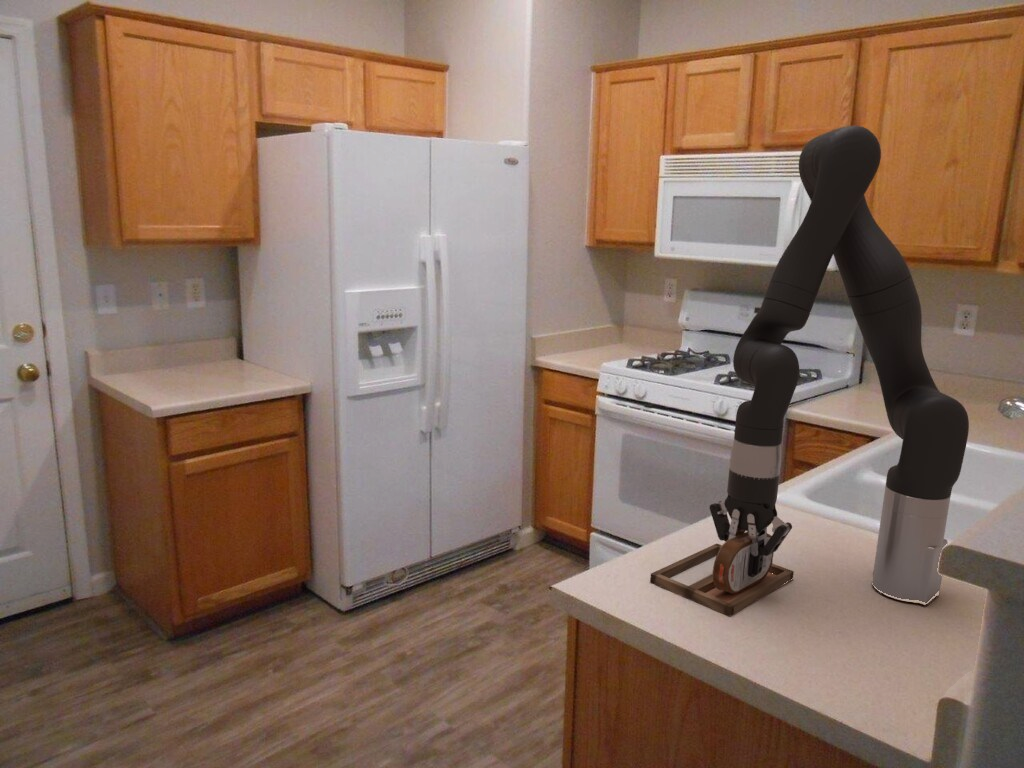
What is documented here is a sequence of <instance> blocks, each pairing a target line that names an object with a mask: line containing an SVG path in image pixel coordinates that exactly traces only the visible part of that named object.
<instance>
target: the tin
mask: <svg viewBox="0 0 1024 768" xmlns="http://www.w3.org/2000/svg"><path fill="white" fill-rule="evenodd" d="M771 536H772V534H769V533H768V532H767V537H766V543H767V542H768V541H769V539H770V538H771ZM721 545H722V547H721V548H720V550H719V552H718V554H717V555H716V556H715V558H714V563H713V568H712V574H713V582H714V585H715V587H716V588H717V589H719V590H723V591H726V592H728V593H731V594H736V593H739V592H741V591H743V590H745V589H746V588H748V587H750V586H752V585H754V584H756V583H758V582H760V581H761V580H763V579H764V578H765V577H766V575H767V574H768V572H769V570H770V568H771V566H772V564H773V561H774V553H775V552H774V553H772V554H770V555H768V556H764V557H763V566H762V571H761V573H759V574H758V575H756V576H754V577H750V576H748V568H749V558H750V554H751V541H749V532H748V531H745V533H743V534H741V535H738V536H736V537H734V538H731V539H729V540H727V541H726V542H725V541H724V543H723V544H721Z"/></svg>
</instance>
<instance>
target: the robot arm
mask: <svg viewBox="0 0 1024 768" xmlns="http://www.w3.org/2000/svg"><path fill="white" fill-rule="evenodd" d="M881 158H882V150H881V144H880V142H879V140H878V138H877V137H876V134H874V133H873V132H872V131H871V130H869V129H868V128H867V127H864V126H861V125H860V126H859V125H846V126H841V127H838V128H835V129H833V130H831V131H828V132H824V133H821V134H819V135H818V136H816V137H814V138H812V139H811V140H809V141H808V142H807V143H806V144H805V145H804V147H803V148H802V150H801V153H800V154H799V159H798V173H799V177H800V180H801V183H802V185H803V188H804V190H805V192H806V194H807V196H808V198H809V200H810V204H809V206H808V209H807V212H806V213H805V216H804V218H803V219H802V222H801V224H800V226H799V227H798V229H797V231H796V233H795V234H794V235H793V237H792V239H791V240H790V242H789V244H788V245H787V246H786V248H785V249H784V252H783V253H782V255H781V257H780V258H779V260H778V261H777V264H776V266H775V268H774V271H773V273H772V275H771V278H770V281H769V283H768V286H767V289H766V292H765V294H764V297H763V300H762V302H761V306H760V308H759V310H758V312H757V313H756V314H755V315H754V317H753V318H752V319H751V321H750V323H749V325H748V326H747V328H746V329H745V331H744V332H743V334H742V336H741V337H740V338H739V341H738V342H737V344H736V347H735V349H734V354H733V358H732V359H733V360H732V363H733V365H732V366H733V370H734V373H735V375H736V376H737V378H739V379H740V380H741V381H743V382H745V383H747V384H750V385H753V386H754V390H753V393H752V396H751V400H745V401H743V402H741V403H740V404H739V405H738V407H737V410H736V415H735V423H734V424H735V427H734V436H733V441H732V447H731V450H730V458H729V469H728V479H727V487H726V488H727V490H726V493H727V496H726V498H725V500H724V501H721V500H719V501H716V502H714V503H712V504H709V511H710V514H711V518H712V521H713V524H714V528H715V530H716V534H717V537H718V540H720V541H721V542H722V541H723V542H724V543H725V542H726V541H727V540H729V539H731V538H734V537H736V536H738V535H741V534H743V533H745V532H749V541H751V554H750V558H749V568H748V576H750V577H754V576H756V575H758V574H759V573H761V571H762V566H763V557H764V556H768V555H770V554H772V553H775V552H777V550H779V549H778V548H779V547H780V546H781V545H782V543H783V541H784V540H785V539H786V537H787V536H788V535H789V533H790V532H791V530H792V529H793V525H792V523H791V522H785V521H783V519H781V518H779V517H778V511H777V508H776V503H777V499H778V493H779V483H780V473H781V465H782V440H783V431H784V429H783V428H784V419H785V415H786V413H787V412H788V409H789V408H790V407H789V406H790V404H791V402H792V398H793V396H794V395H795V394H794V393H795V391H796V388H797V385H798V383H799V378H800V363H799V359H798V356H797V354H796V352H795V351H794V350H793V349H792V347H791V348H790V347H789V346H788V345H784V344H782V343H783V341H785V338H786V337H787V336H788V334H790V333H791V332H795V331H800V330H802V329H803V328H804V327H805V326H806V324H807V322H808V320H809V318H810V315H811V312H812V310H813V307H814V304H815V302H816V298H817V296H818V293H819V290H820V288H821V285H822V283H823V280H824V278H825V275H826V272H827V269H828V267H829V265H830V262H831V261H832V259H833V257H834V261H835V262H836V265H837V268H838V272H839V274H840V277H841V281H842V283H843V287H844V290H845V293H846V296H847V299H848V301H849V304H850V308H851V310H852V312H853V316H854V319H855V321H856V324H857V326H858V328H859V330H860V333H861V336H862V338H863V341H864V343H865V346H866V348H867V351H868V353H869V355H870V357H871V360H872V362H873V364H874V367H875V370H876V373H877V376H878V381H879V385H880V389H881V393H882V398H883V402H884V403H883V404H884V408H885V412H886V416H887V420H888V423H889V425H890V428H891V429H892V430H893V432H894V433H895V434H896V436H898V437H899V438H900V439H901V440H902V444H901V449H900V455H899V459H898V462H897V464H896V465H893V466H890V467H889V468H888V470H887V474H886V478H885V486H884V493H883V501H882V506H881V507H882V508H881V513H880V514H881V515H880V520H879V527H878V528H879V529H878V535H877V537H878V538H877V543H876V551H875V556H874V557H875V558H874V564H873V570H872V580H871V584H872V583H873V585H874V586H875V587H876V588H877V589H878V590H880V591H882V592H883V593H886V594H888V595H891V596H894V597H897V598H901V599H909V600H919V601H922V602H925V603H927V602H928V601H929V600H930V599H931V598H932V597H933V596H935V594H936V593H937V592H938V591H939V590H940V591H941V585H942V580H943V575H942V576H941V575H939V574H938V572H937V568H938V562H939V557H940V553H941V550H942V548H943V547H944V546H945V545H946V544H947V545H948V539H945V533H946V528H947V519H948V514H949V508H950V502H951V495H952V491H953V490H952V489H953V487H954V486H955V484H956V483H957V481H958V480H959V478H960V474H961V472H962V471H961V470H962V467H963V462H964V457H965V453H966V448H967V444H968V438H969V437H968V436H969V432H970V431H969V430H970V429H969V428H970V421H969V419H970V418H969V415H968V412H967V410H966V408H965V406H964V405H963V404H962V403H961V402H959V400H957V399H955V398H953V397H951V396H949V395H947V394H945V393H943V392H941V391H940V390H939V388H938V387H937V385H936V383H935V380H934V379H933V377H932V374H931V373H930V369H929V367H928V365H927V362H926V360H925V356H924V353H923V346H922V325H923V324H922V323H923V322H922V320H923V319H922V317H923V316H922V306H921V301H920V298H919V294H918V291H917V287H916V285H915V282H914V279H913V275H912V273H911V271H910V268H909V266H908V263H907V262H906V260H905V258H904V257H903V255H902V254H901V252H900V251H899V250H898V248H897V247H896V246H895V244H894V243H893V242H892V241H891V239H890V238H889V237H888V235H886V234H885V232H884V230H882V228H881V227H880V226H879V225H878V223H877V222H876V220H875V218H874V217H873V215H872V213H871V210H870V209H869V205H868V203H867V200H866V197H865V194H866V192H867V191H868V189H869V187H870V185H871V184H872V182H873V180H874V178H875V176H876V173H877V172H878V170H879V166H880V165H881V160H882V159H881ZM728 515H729V517H728ZM729 518H730V519H731V521H730V519H729ZM771 524H772V529H771V532H772V534H771V538H770V539H769V541H768V542H767V543H766V537H767V533H768V527H769V526H770V525H771Z"/></svg>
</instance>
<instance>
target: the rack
mask: <svg viewBox="0 0 1024 768" xmlns="http://www.w3.org/2000/svg"><path fill="white" fill-rule="evenodd" d="M722 545H723V544H719V543H715V544H712V545H710V546H708V547H705V548H704V549H701V550H699V551H697V552H695V553H693V554H691V555H688V556H687V557H684V558H682V559H679V560H677V561H674V562H673V563H670V564H669V565H666V566H664V567H662V568H660V569H658V570H656V571H654V572H651V573H650V580H649V582H650V583H651V584H653V585H655V586H658V587H660V588H663V589H665V590H667V591H670V592H672V593H673V594H677V595H679V596H681V597H684V598H685V599H688V600H691V601H693V602H695V603H697V604H700V605H702V606H705V607H706V608H709V609H712V610H714V611H716V612H719V613H721V614H723V615H725V616H728V617H731V616H733V615H735V614H737V613H738V612H740V611H742V610H744V609H745V608H748V607H749V606H751V605H752V604H754V603H756V602H757V601H759V600H760V598H761V599H762V598H764V597H766V596H768V595H769V594H770V592H771V593H772V591H773V590H774V591H776V590H777V589H776V588H778V587H779V588H781V587H782V586H781V585H783V584H784V583H786V582H787V581H789V580H791V579H792V578H793V579H794V574H795V573H794V570H792V569H789V568H786V567H784V566H780V565H777V564H775V563H772V566H771V568H770V570H769V572H768V574H767V575H766V577H765V578H764V579H763V580H761V581H760V582H758V583H756V584H754V585H752V586H750V587H748V588H746V589H745V590H743V591H741V592H739V593H736V594H731V593H728V592H726V591H723V590H719V589H717V588H716V587H715V585H714V582H713V573H712V574H709V575H707V576H705V577H703V578H702V579H699V580H698V581H695V582H694V583H692V584H690V585H687V584H684V583H683V582H680V581H678V580H675V579H673V578H672V577H674V576H676V575H679V574H680V573H682V572H684V571H687V570H688V569H691V568H692V567H693V568H694V567H695V566H696V565H698V564H701V563H703V562H705V561H708V560H709V559H712V558H714V557H716V556H717V554H718V552H719V550H720V548H721V547H722ZM715 555H716V556H715ZM772 573H773V574H772ZM791 581H792V580H791ZM786 584H787V583H786ZM780 586H781V587H780ZM783 586H784V585H783ZM779 588H778V589H779ZM775 589H776V590H775ZM774 591H773V592H774ZM768 593H769V594H768ZM765 595H766V596H765ZM763 596H764V597H763ZM758 599H759V600H758ZM755 601H756V602H755Z"/></svg>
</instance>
